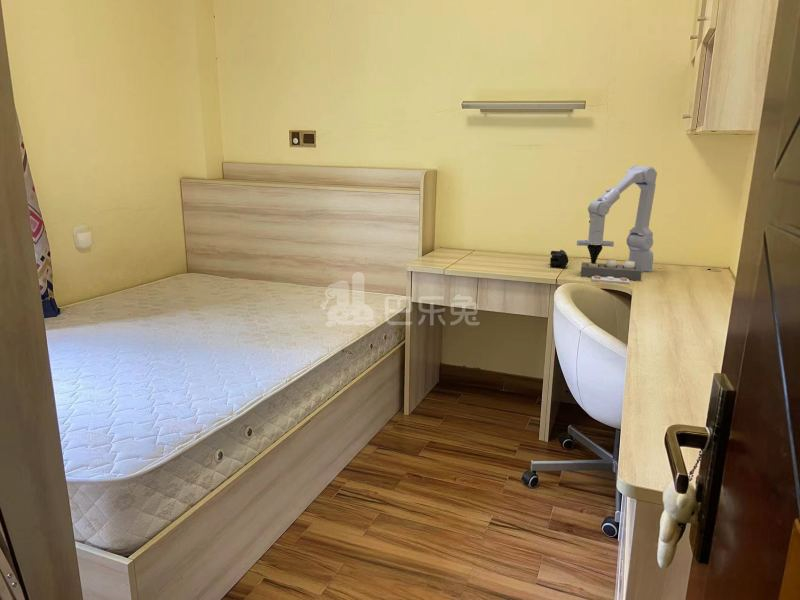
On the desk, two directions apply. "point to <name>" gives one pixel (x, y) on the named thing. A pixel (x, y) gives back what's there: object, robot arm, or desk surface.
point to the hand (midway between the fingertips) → (593, 263)
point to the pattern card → (610, 279)
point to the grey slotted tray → (611, 271)
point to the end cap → (558, 259)
